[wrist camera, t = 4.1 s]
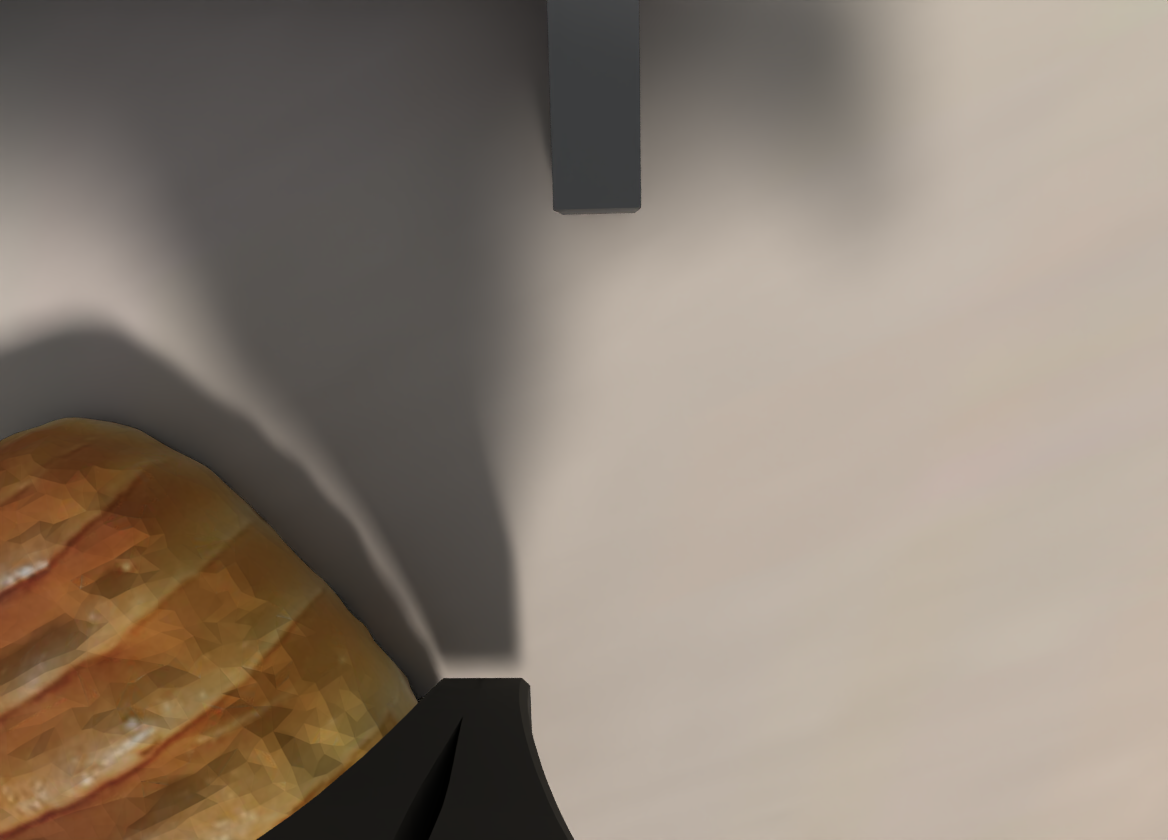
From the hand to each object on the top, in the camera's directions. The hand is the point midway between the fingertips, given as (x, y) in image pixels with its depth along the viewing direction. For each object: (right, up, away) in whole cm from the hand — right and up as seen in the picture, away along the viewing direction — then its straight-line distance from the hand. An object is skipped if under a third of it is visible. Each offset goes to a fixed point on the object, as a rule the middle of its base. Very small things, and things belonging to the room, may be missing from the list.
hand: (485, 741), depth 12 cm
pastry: (-5, 0, +2) cm, 5 cm away
